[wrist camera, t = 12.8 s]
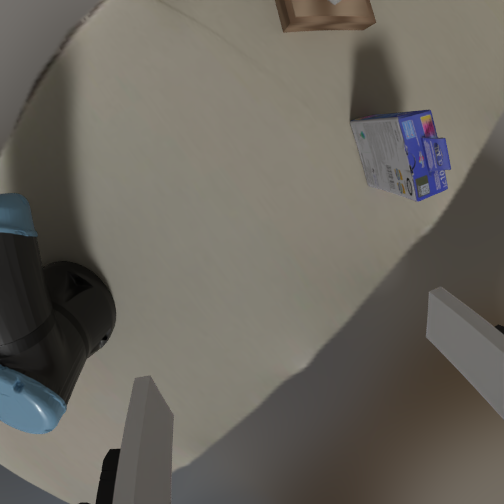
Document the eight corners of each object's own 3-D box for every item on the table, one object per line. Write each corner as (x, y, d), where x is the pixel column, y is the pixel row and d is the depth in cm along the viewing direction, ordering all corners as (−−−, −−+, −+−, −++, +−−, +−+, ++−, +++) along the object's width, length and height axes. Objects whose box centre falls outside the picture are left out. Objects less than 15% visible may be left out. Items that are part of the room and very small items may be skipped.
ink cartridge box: (398, 176, 43) (462, 194, 30) (367, 187, 43) (427, 210, 30) (381, 111, 40) (445, 107, 26) (348, 120, 40) (406, 116, 26)
